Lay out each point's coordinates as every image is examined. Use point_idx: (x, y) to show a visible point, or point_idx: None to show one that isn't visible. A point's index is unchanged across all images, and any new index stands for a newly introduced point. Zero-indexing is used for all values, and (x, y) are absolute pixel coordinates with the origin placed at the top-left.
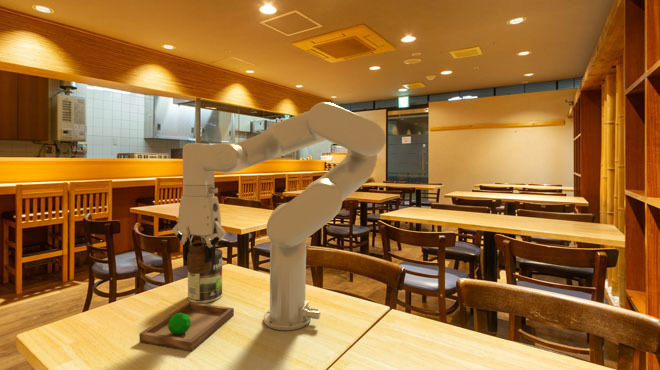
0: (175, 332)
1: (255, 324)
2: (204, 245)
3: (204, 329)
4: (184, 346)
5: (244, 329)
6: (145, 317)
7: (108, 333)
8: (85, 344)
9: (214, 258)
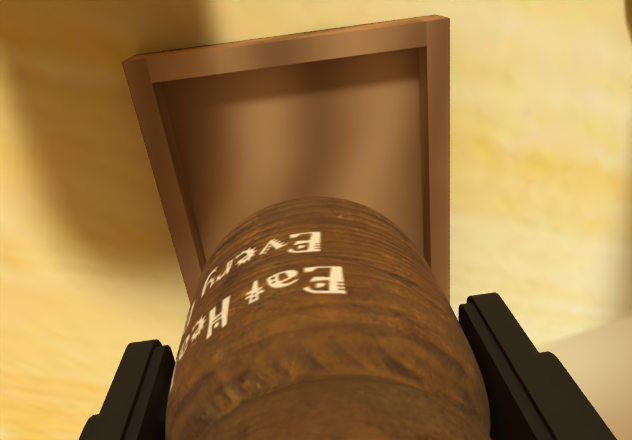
0: None
1: (597, 55)
2: (322, 418)
3: (436, 266)
4: None
5: (561, 121)
6: (24, 222)
7: (46, 361)
8: (63, 424)
9: (497, 299)
